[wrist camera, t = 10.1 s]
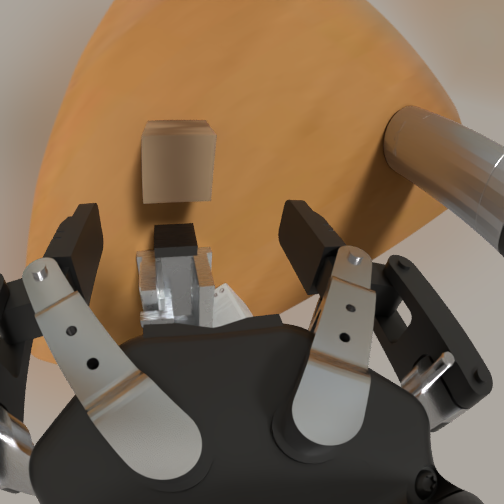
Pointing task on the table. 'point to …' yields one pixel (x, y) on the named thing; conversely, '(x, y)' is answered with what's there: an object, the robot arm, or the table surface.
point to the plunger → (173, 271)
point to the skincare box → (228, 307)
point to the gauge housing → (200, 286)
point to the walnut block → (177, 161)
